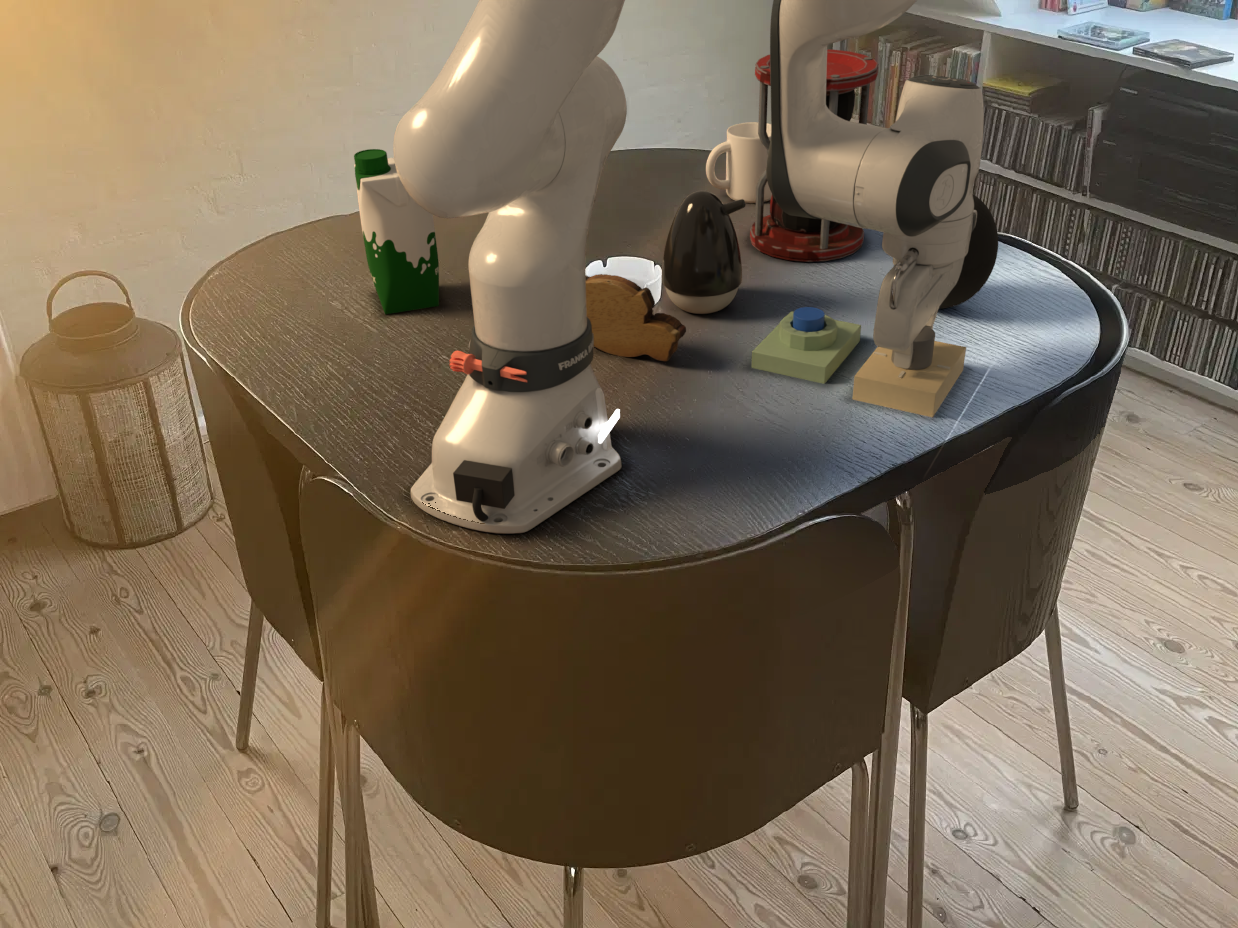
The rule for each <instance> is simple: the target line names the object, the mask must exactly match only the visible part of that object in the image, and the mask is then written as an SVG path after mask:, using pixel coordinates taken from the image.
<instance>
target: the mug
mask: <svg viewBox="0 0 1238 928" xmlns="http://www.w3.org/2000/svg"><path fill="white" fill-rule="evenodd" d="M758 122H759V121H757V122H755V121H753V122H752V121H749V122H741V123H736V124H733V125H730V126H729V127H728V128H727V129H726V140H725V141H723V142H721V143H719V144H717V145H716V146H715V147H714V148H713V149H712V150H711V151H710V152H709V155H708V157H707V160H706V163H705V176H706V178H707V180H708V182H709V184H711V186H712V187H714V188H715V189H718V190H725V193H726V195H727V196H728V197H729V198H730V199H731V200H733V201H737V200H740V199H743V200H744V201H745V204H756V186H757V184H758V181H759V178H760V176H761V175H762V174H763V173H764V171H765V170H766V167H767V158H768V154H767V149H766V148H765V146H764V145H763V144H762V143H761V141H760V138H759V135H758ZM766 132H767V134H768V137H769V140H770V139H771V123H768V122H767V129H766ZM724 153H726V157H725V179H719V178H717V175H716V171H715V168H716V167H715V166H716V162H717V160H718V158H719V157H720V156H721V155H722V154H724ZM771 196H772V193H771V191H770V188H769V185H768V182H767V183H766V185H765V187H764V203H765V202H770V201H771Z"/></svg>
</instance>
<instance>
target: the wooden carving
mask: <svg viewBox="0 0 1238 928" xmlns="http://www.w3.org/2000/svg"><path fill="white" fill-rule="evenodd" d="M655 305H656V302H655V298H654V295H653V293H652V291H651V289H650V288H649V287H643V288H642V287H641V286H639V285H638V284H637V283H636V282H635V281H632V280H630V279H627V278H625V277H623V276H619V275H612V274H607V273H604V274H602V273H599V274H594V275H591V276H588V275H587V274H586V307H587V317H588V318H589V320H590V322H591V326H592V333H593V336H594V346H593V348H594V347H595V348H596V349H598V350H600V351H602V352H604V353H607V354H610V355H613V356H617V357H623V358H635V357H640V356H644V355H647V356H649V357H650V358H652V359H654V360H656V361H661V362H669V361H670V360H671V358H672V356H673V355H674V353H676V351H678V346H679V341H680V340H681V339H682V338H683V337H684V336H685V335H686V332H687V327H686V326H685V324H683V323H682V322H681V321H680V320H679V319H677V317H674V316H673V315H671V314H668V313H664V312H656V313H653V312H654V309H653V308H654V307H655Z"/></svg>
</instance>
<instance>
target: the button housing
mask: <svg viewBox="0 0 1238 928" xmlns="http://www.w3.org/2000/svg"><path fill="white" fill-rule="evenodd" d="M793 313H794V311H790V312H788V314H786V315H785V316H783V318H782V319H781V320H780V321H779V323H778V324H777V325H776V326H775V327H774V328H773V329H772V330H771V331H770V333H768V334H767V336H765V337H764V338H763V340H761V342H759V344H758V345H756V347H755V348H754V349H753V350H752V351H751V369H754V370H760V371H765V372H768V373H772V374H778V375H783V376H787V377H792V378H795V379H800V380H805V381H809V382H813V383H819V384H823V385H825V384H826V383H827V381H828V380H830V378H831V377H832V376H833V375H834V373H835V372H836V371H837V369H838V368H839V367H840V366H841V365H842V363H844V361H845V360H846V358H847V357H848V356H850V354H851V353H852V352H853V350H855V348H856V346H858V344H859V343H860V342H861V333H862V332H861V331H862V324H859V323H855V322H854V323H853V322H849V321H845V320H844V321H843V320H837V319H835V318H832V317H831V316H829V315H827V314H825V318H824V328H823V330H820V331H817V332H803V331H798V330H796V329H794V328H793Z"/></svg>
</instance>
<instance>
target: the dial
mask: <svg viewBox="0 0 1238 928" xmlns="http://www.w3.org/2000/svg"><path fill="white" fill-rule="evenodd" d="M934 341H936V332H935V330H934V328H933V329H931V328H930V327H927V326H924V328H923V329H922V330H921V332H920V333H919V334H918V336H917V337H916V338H915V340H914V341H913V349H915V353H914V361H913V363H912V364H911V365H910V367H909V368H908V369H909V370H920V369H924V368H927V367H929V366H930V365H931V363H932V357H933V349H934ZM894 354H895V352H894V350H892V357H891V360H892V362H893V363H894Z"/></svg>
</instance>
